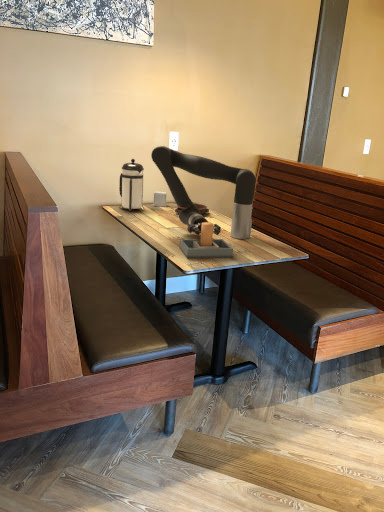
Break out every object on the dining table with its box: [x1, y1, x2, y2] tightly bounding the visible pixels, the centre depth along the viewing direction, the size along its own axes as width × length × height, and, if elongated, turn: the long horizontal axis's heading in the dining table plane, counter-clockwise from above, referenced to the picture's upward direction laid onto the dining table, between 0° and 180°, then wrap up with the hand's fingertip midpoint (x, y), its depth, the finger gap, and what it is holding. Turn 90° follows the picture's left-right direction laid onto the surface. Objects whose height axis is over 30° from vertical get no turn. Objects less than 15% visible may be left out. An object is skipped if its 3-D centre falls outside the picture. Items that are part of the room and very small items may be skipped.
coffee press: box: [118, 158, 145, 213], centre depth 248 cm, size 17×16×30 cm
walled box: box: [179, 238, 234, 259], centre depth 182 cm, size 20×14×4 cm
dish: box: [174, 202, 210, 216], centre depth 252 cm, size 18×22×5 cm
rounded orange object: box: [200, 221, 214, 247], centre depth 180 cm, size 5×5×12 cm
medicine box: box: [152, 191, 167, 208], centre depth 266 cm, size 8×4×9 cm, turn 92°
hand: (208, 233), depth 177 cm, fingers open, 8 cm apart
